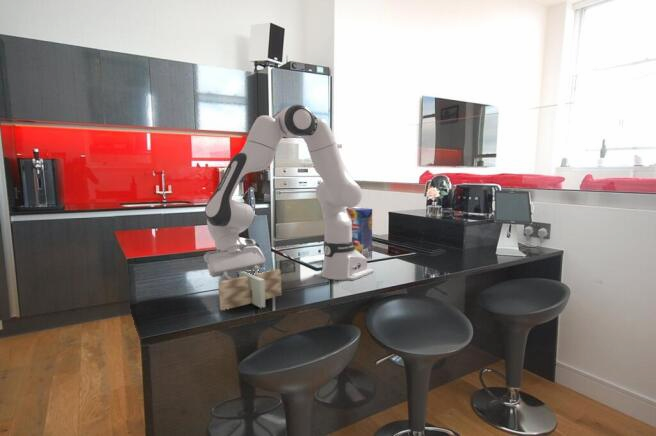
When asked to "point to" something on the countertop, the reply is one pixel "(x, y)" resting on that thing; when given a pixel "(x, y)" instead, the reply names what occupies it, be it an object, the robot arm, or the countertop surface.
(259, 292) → the sage plate
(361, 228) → the juice carton
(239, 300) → the brown zigzag slotted board
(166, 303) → the countertop surface
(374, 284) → the countertop surface
